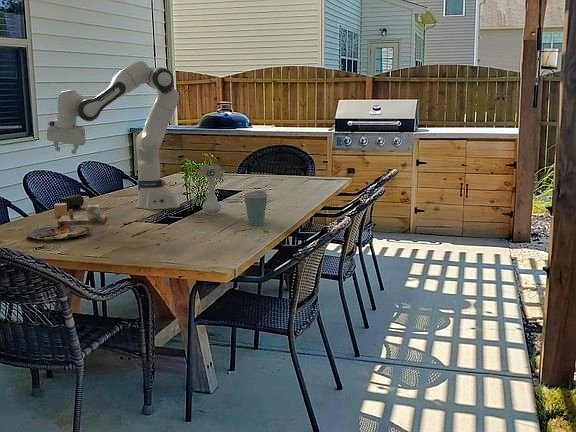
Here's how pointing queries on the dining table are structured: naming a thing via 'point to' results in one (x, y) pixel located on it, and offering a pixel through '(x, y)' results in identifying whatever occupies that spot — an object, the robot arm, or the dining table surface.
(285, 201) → the dining table surface
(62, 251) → the dining table surface
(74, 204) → the end cap
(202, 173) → the flower vase
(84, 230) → the food plate
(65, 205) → the tan wooden cube
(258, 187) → the dining table surface
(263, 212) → the disposable coffee cup
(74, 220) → the peg board
